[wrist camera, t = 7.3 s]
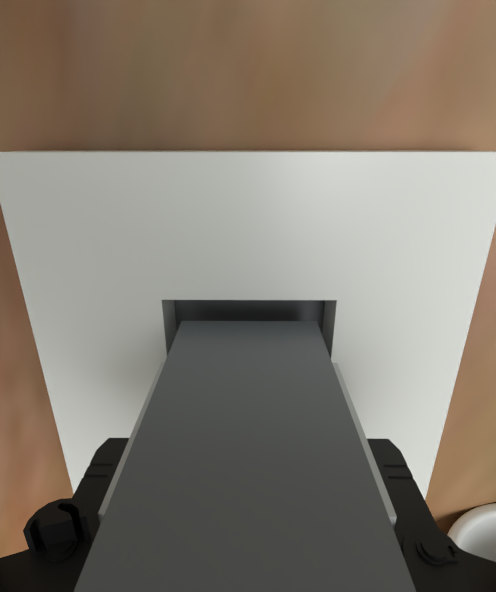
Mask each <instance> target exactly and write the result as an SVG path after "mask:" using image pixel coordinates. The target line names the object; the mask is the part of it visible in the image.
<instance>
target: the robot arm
mask: <svg viewBox="0 0 496 592" xmlns="http://www.w3.org/2000/svg"><path fill="white" fill-rule="evenodd" d="M164 364H165V362H161V364H160V366H159V368H158V371H157V373H156V376H155V378H154V380H153V383H152V385H151V388H150V390H149V392H148V395H147V397H146V400H145V402H144V404H143V407H142V409H141V412H140V414H139V416H138V419H137V421H136V424H135V426H134V428H133V431H132V433H131V436H130V438H108V439H107V440H106V441H105V442H104V443H103V444H102V445H101V446H100V447H99V448H98V449H97V450H96V452H95V454H94V456H93V458H92V460H91V462H90V465H89V466H88V468H87V470H86V472H85V474H84V477H83V478H82V479H81V481H80V483H79V485H78V487H77V489H76V491H75V493H74V495H73V497H72V499H71V498H69V499H59V500H56V501H53V502H51V503H48V504H47V505H45V506H44V507H42V508H41V509H39V510H38V511H37V512H36V513H35V514H34V515H33V516H32V517H31V518H30V519H29V520H28V522H27V524H26V526H25V528H24V530H23V532H24V535H25V538H26V541H27V544H28V547H29V549H27V550H25V551H22V552H19V553H16V554H12V555H9V556H6V557H2V558H0V592H74V590H75V587H76V584H77V582H78V579H79V577H80V574H81V572H82V569H83V567H84V564H85V562H86V559H87V557H88V554H89V552H90V549H91V547H92V544H93V542H94V539H95V537H96V534H97V532H98V529H99V527H100V524H101V522H102V519H103V517H104V514H105V512H106V509H107V507H108V504H109V502H110V499H111V497H112V494H113V492H114V489H115V487H116V484H117V482H118V479H119V477H120V474H121V472H122V469H123V467H124V464H125V462H126V459H127V457H128V454H129V451H130V449H131V446H132V444H133V441H134V439H135V436H136V434H137V431H138V429H139V426H140V424H141V421H142V419H143V416H144V414H145V411H146V409H147V406H148V404H149V401H150V399H151V396H152V394H153V391H154V389H155V386H156V384H157V381H158V379H159V376H160V374H161V371H162V369H163V366H164ZM332 364H333V367H334V369H335V372H336V375H337V377H338V380H339V383H340V386H341V388H342V391H343V394H344V396H345V399H346V402H347V405H348V407H349V410H350V413H351V416H352V418H353V421H354V424H355V426H356V429H357V432H358V435H359V437H360V440H361V443H362V445H363V448H364V451H365V454H366V456H367V459H368V462H369V464H370V467H371V470H372V473H373V475H374V478H375V481H376V483H377V486H378V489H379V492H380V494H381V497H382V500H383V502H384V505H385V508H386V511H387V513H388V516H389V519H390V521H391V524H392V527H393V530H394V532H395V535H396V538H397V540H398V543H399V546H400V549H401V551H402V554H403V557H404V559H405V562H406V565H407V568H408V570H409V573H410V576H411V579H412V581H413V584H414V587H415V589H416V592H496V562H495V561H492V560H488V559H485V558H482V557H479V556H476V555H473V554H471V553H468V552H466V551H464V550H462V549H460V548H459V547H458V546H457V545H456V544H455V542H454V541H453V540H452V539H451V538H450V537H449V536H448V535H446V534H445V533H444V532H442V531H441V530H440V529H439V528H438V526H437V525H436V523H435V521H434V519H433V517H432V515H431V512H430V510H429V508H428V506H427V504H426V502H425V500H424V498H423V496H422V494H421V492H420V490H419V488H418V486H417V484H416V482H415V480H414V479H413V475H412V473H411V471H410V469H409V468H408V466H407V463H406V461H405V459H404V457H403V455H402V453H401V451H400V450H399V449H398V448H397V447H396V446H395V445H394V444H393V443H392V442H391V441H390V440H389V439H367V438H366V436H365V433H364V431H363V428H362V426H361V423H360V420H359V418H358V415H357V413H356V410H355V408H354V405H353V402H352V400H351V397H350V395H349V392H348V390H347V387H346V384H345V382H344V379H343V377H342V374H341V371H340V369H339V366H338V364H337V363H332Z"/></svg>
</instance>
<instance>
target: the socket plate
mask: <svg viewBox="0 0 496 592" xmlns="http://www.w3.org/2000/svg"><path fill="white" fill-rule="evenodd" d="M0 204H1V208H2V212H3V216H4V220H5V224H6V228H7V232H8V235H9V239H10V243H11V247H12V251H13V255H14V259H15V263H16V267H17V271H18V275H19V279H20V283H21V287H22V291H23V295H24V299H25V303H26V307H27V311H28V315H29V319H30V323H31V326H32V330H33V334H34V338H35V342H36V346H37V350H38V354H39V358H40V362H41V366H42V370H43V374H44V378H45V382H46V386H47V390H48V394H49V398H50V402H51V406H52V410H53V413H54V417H55V421H56V425H57V429H58V433H59V437H60V441H61V445H62V449H63V453H64V457H65V461H66V465H67V469H68V473H69V477H70V481H71V485H72V489H73V493H75V491H76V489H77V487H78V485H79V483H80V481H81V479H82V478H83V477H84V474H85V472H86V470H87V468H88V466H89V465H90V462H91V460H92V458H93V456H94V454H95V452H96V450H97V449H98V448H99V447H100V446H101V445H102V444H103V443H104V442H105V441H106V440H107V439H108V438H130V436H131V433H132V431H133V428H134V426H135V424H136V421H137V419H138V416H139V414H140V412H141V409H142V407H143V404H144V402H145V400H146V397H147V395H148V392H149V390H150V388H151V385H152V383H153V380H154V378H155V376H156V373H157V371H158V368H159V366H160V364H161V362H165V361H166V359H167V356H168V354H169V351H170V349H171V346H172V344H173V341H174V339H175V336H176V334H177V331H178V329H179V326H180V324H181V321H317V323H318V326H319V329H320V331H321V334H322V337H323V339H324V342H325V345H326V348H327V350H328V353H329V356H330V358H331V361H332V363H337V364H338V366H339V369H340V371H341V374H342V377H343V379H344V382H345V384H346V387H347V390H348V392H349V395H350V397H351V400H352V402H353V405H354V408H355V410H356V413H357V415H358V418H359V420H360V423H361V426H362V428H363V431H364V433H365V436H366V438H367V439H389V440H390V441H391V442H392V443H393V444H394V445H395V446H396V447H397V448H398V449H399V450H400V451H401V453H402V455H403V457H404V459H405V461H406V463H407V466H408V468H409V469H410V471H411V473H412V475H413V479H414V480H415V482H416V484H417V486H418V488H419V490H420V492H421V494H422V496H423V498H424V500H425V498H426V494H427V490H428V486H429V482H430V478H431V474H432V470H433V466H434V463H435V459H436V455H437V451H438V447H439V443H440V439H441V435H442V431H443V428H444V424H445V420H446V416H447V412H448V408H449V404H450V400H451V396H452V392H453V389H454V385H455V381H456V377H457V373H458V369H459V365H460V361H461V357H462V353H463V350H464V346H465V342H466V338H467V334H468V330H469V326H470V322H471V318H472V315H473V311H474V307H475V303H476V299H477V295H478V291H479V287H480V283H481V279H482V276H483V272H484V268H485V264H486V260H487V256H488V252H489V248H490V244H491V240H492V237H493V233H494V229H495V225H496V151H476V150H343V151H7V152H0Z"/></svg>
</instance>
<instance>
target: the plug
mask: <svg viewBox="0 0 496 592" xmlns="http://www.w3.org/2000/svg"><path fill="white" fill-rule="evenodd" d="M74 592H416V589H415V587H414V584H413V581H412V579H411V576H410V573H409V570H408V568H407V565H406V562H405V559H404V557H403V554H402V551H401V549H400V546H399V543H398V540H397V538H396V535H395V532H394V530H393V527H392V524H391V521H390V519H389V516H388V513H387V511H386V508H385V505H384V502H383V500H382V497H381V494H380V492H379V489H378V486H377V483H376V481H375V478H374V475H373V473H372V470H371V467H370V464H369V462H368V459H367V456H366V454H365V451H364V448H363V445H362V443H361V440H360V437H359V435H358V432H357V429H356V426H355V424H354V421H353V418H352V416H351V413H350V410H349V407H348V405H347V402H346V399H345V396H344V394H343V391H342V388H341V386H340V383H339V380H338V377H337V375H336V372H335V369H334V367H333V364H332V361H331V358H330V356H329V353H328V350H327V348H326V345H325V342H324V339H323V337H322V334H321V331H320V329H319V326H318V323H317V321H181V324H180V326H179V329H178V331H177V334H176V336H175V339H174V341H173V344H172V346H171V349H170V351H169V354H168V356H167V359H166V361H165V364H164V366H163V369H162V371H161V374H160V376H159V379H158V381H157V384H156V386H155V389H154V391H153V394H152V396H151V399H150V401H149V404H148V406H147V409H146V411H145V414H144V416H143V419H142V421H141V424H140V426H139V429H138V431H137V434H136V436H135V439H134V441H133V444H132V446H131V449H130V451H129V454H128V457H127V459H126V462H125V464H124V467H123V469H122V472H121V474H120V477H119V479H118V482H117V484H116V487H115V489H114V492H113V494H112V497H111V499H110V502H109V504H108V507H107V509H106V512H105V514H104V517H103V519H102V522H101V524H100V527H99V529H98V532H97V534H96V537H95V539H94V542H93V544H92V547H91V549H90V552H89V554H88V557H87V559H86V562H85V564H84V567H83V569H82V572H81V574H80V577H79V579H78V582H77V584H76V587H75V590H74Z"/></svg>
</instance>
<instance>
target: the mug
mask: <svg viewBox="0 0 496 592" xmlns="http://www.w3.org/2000/svg"><path fill="white" fill-rule="evenodd" d="M447 535H448V536H449V537H450V538H451V539H452V540H453V541H454V542H455V544H456V545H457V546H458V547H459V548H460V549H462V550H464V551H466V552H468V553H471V554H473V555H476V556H479V557H482V558H485V559H488V560H492V561H495V562H496V503H493V504H487V505H483V506H479V507H476V508H474V509H472V510H470V511H468V512H466V513H465V514H463V515H462V516H461V517H460V518H459V519H458V520H457V521H456V522H455V523H454V524H453V526H452V527H451V529H450V530H449V532H448V534H447Z"/></svg>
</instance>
